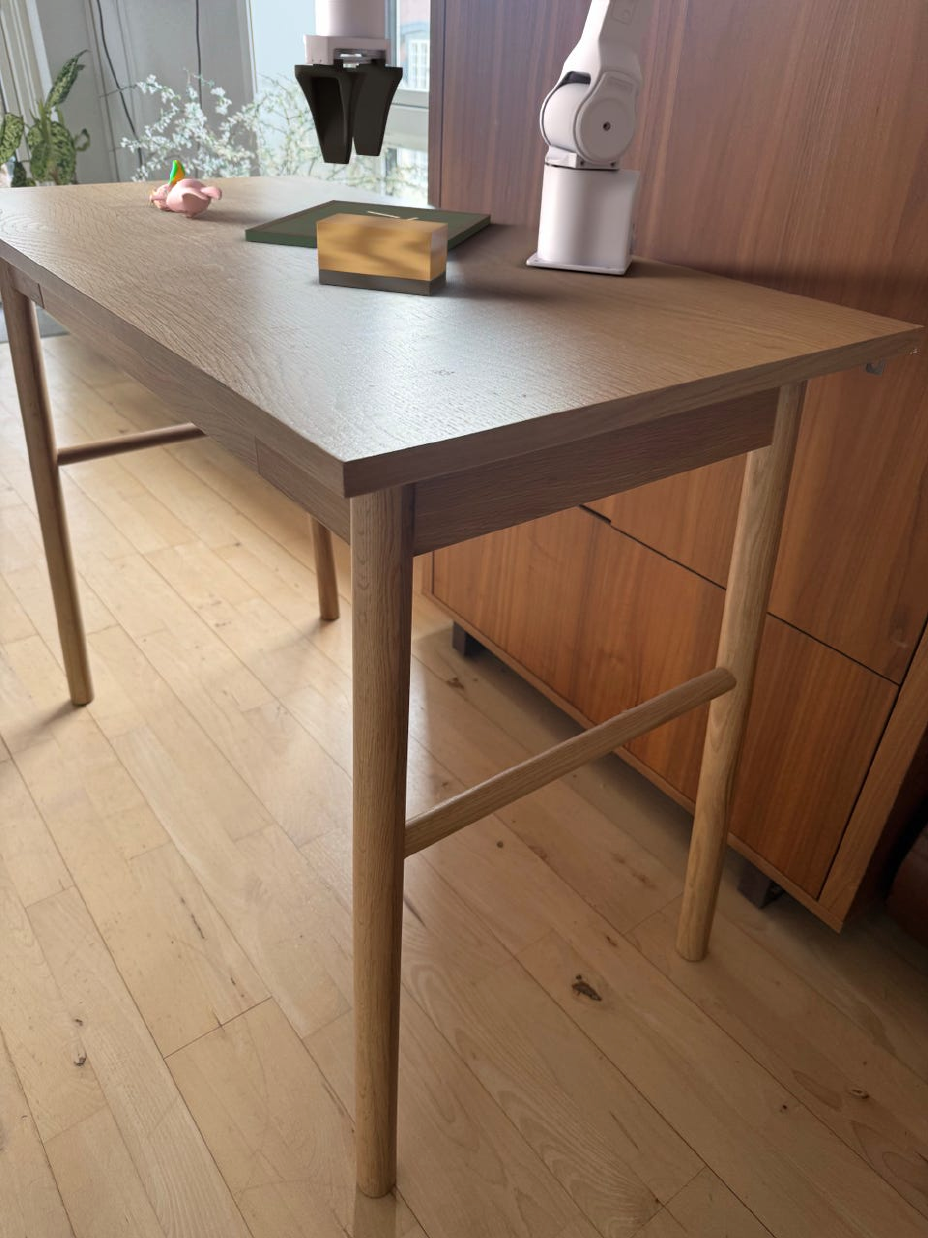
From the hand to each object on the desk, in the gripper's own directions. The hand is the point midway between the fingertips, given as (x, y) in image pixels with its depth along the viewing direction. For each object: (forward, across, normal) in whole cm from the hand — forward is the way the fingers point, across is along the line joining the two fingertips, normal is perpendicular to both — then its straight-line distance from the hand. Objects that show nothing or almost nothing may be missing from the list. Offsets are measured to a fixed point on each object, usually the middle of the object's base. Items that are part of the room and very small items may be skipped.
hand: (352, 159), depth 82 cm
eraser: (+9, +6, +5) cm, 12 cm away
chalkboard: (+9, -18, -4) cm, 20 cm away
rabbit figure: (+9, -16, -26) cm, 32 cm away
